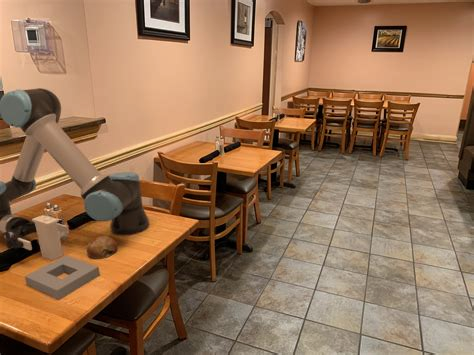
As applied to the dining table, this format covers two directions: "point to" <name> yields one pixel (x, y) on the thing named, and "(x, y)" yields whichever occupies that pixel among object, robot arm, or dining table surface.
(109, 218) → the robot arm
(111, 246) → the bread roll
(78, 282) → the frame
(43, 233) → the cream block
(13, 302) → the dining table surface
